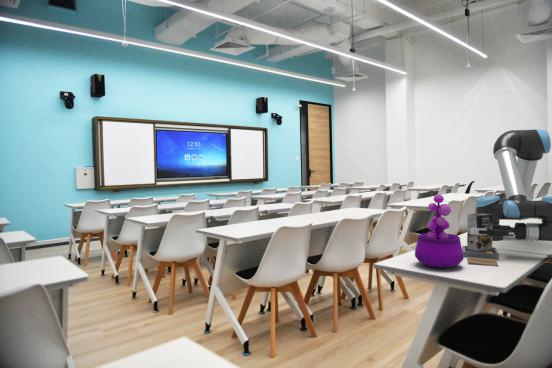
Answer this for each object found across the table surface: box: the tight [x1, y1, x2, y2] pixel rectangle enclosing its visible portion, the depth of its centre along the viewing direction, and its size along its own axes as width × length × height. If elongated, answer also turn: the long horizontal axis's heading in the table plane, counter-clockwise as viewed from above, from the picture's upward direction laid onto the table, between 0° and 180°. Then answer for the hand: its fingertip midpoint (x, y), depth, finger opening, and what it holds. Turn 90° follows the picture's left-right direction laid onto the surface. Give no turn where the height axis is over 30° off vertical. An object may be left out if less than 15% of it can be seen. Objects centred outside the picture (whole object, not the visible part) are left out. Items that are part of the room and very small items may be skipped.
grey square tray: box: [461, 245, 500, 261], centre depth 183 cm, size 14×14×3 cm
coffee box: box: [466, 213, 493, 251], centre depth 182 cm, size 9×6×16 cm
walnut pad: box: [466, 257, 499, 267], centre depth 170 cm, size 11×11×1 cm
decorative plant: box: [414, 193, 465, 269], centre depth 165 cm, size 19×18×30 cm
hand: (469, 229), depth 184 cm, fingers closed on coffee box, 10 cm apart
